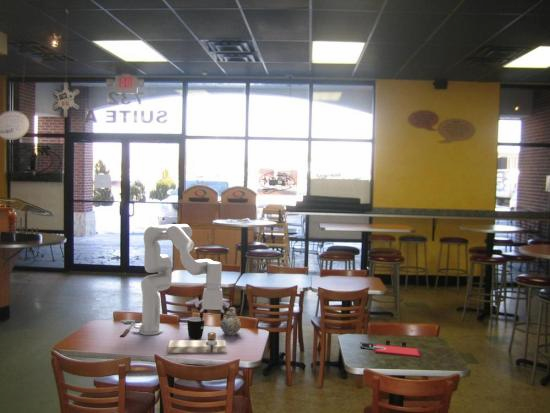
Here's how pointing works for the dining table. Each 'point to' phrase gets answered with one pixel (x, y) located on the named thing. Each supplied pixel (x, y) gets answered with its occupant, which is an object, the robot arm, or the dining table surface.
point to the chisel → (129, 326)
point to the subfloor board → (195, 346)
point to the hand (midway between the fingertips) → (211, 319)
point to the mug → (195, 327)
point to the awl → (211, 338)
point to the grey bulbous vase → (230, 322)
